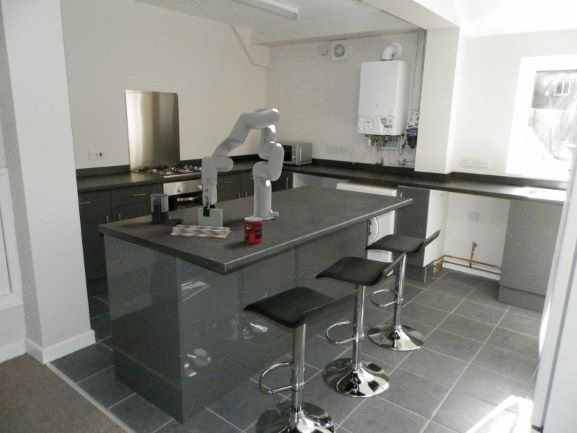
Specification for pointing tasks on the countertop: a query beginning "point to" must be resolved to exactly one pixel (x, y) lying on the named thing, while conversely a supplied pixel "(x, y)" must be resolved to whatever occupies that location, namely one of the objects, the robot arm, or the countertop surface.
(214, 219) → the door panel
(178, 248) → the countertop surface
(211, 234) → the door track
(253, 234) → the canned food
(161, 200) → the milk frother
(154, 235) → the countertop surface
